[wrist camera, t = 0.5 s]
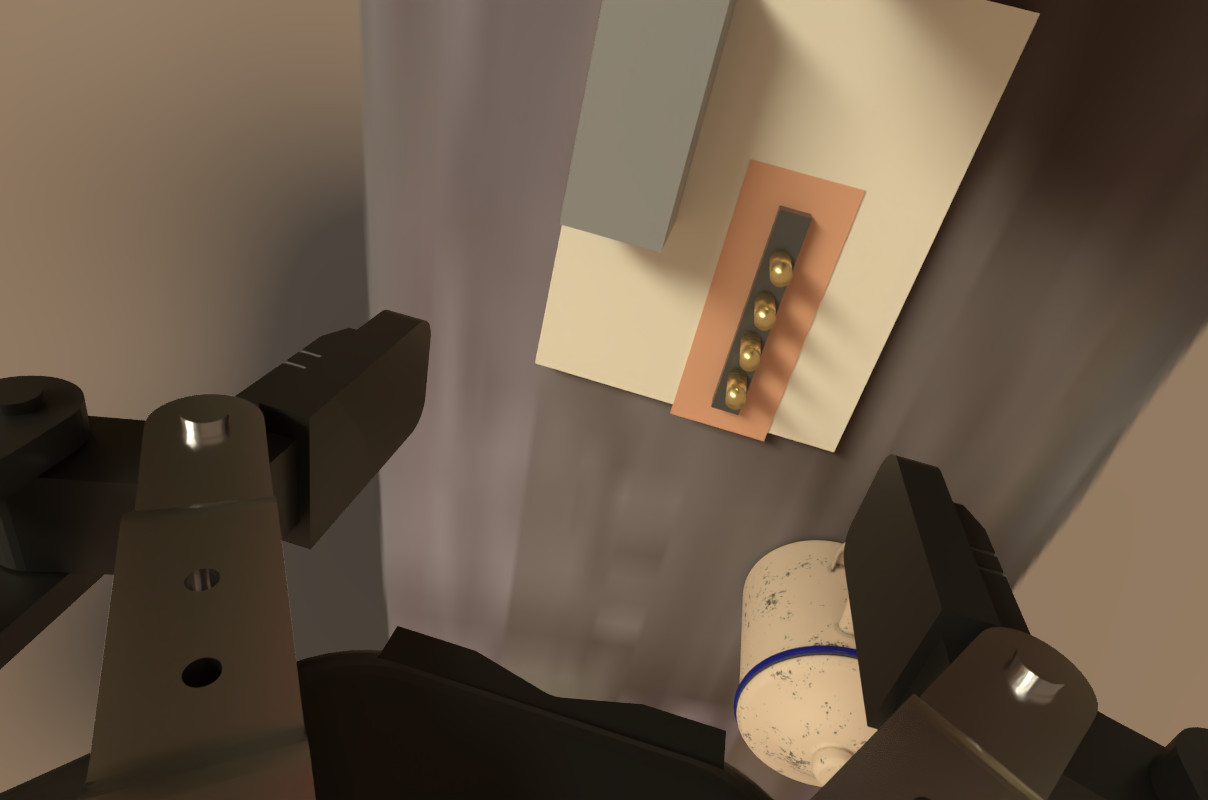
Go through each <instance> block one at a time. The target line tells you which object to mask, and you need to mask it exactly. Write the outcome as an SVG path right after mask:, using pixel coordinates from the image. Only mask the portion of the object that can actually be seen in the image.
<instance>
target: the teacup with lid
mask: <svg viewBox="0 0 1208 800" xmlns="http://www.w3.org/2000/svg"><path fill="white" fill-rule="evenodd" d="M844 547H845V543H843V544H842V543H838V542H833V541H825V540H807V541H800V542H795V543H791V544H787V545H784V546H782V547H779V548H777V549H775V550H773V551H771V552H770V553H768V554H767V555H765V556H764V557H763V558H761V559H760V560H759V561H758V562H757V563H756V565H755V566H754V567H753V568H752V570H751V571H750V573H749V575H748V577H747V579H746V582H745V585H744V590H743V609H742V636H741V663H740V684H739V686H738V689H737V691H736V695H735V699H734V714H735V718H736V722H737V725H738V727H739V730H740V733H741V735H742V737H743V739H744V740H745V742H746V743H747V745H748V746H749V748H750V749H751V750H752V751H753V753H754V754H755V755H756V756H757V757H758V758H759V759H760V760H762V761H763V762H764V763H765V764H767V765H768V766H769V767H771V768H772V769H774V770H776V771H777V772H779V773H781V774H783V775H785V776H787V777H789V778H792V779H794V780H797V781H800V782H803V783H806V784H810V785H815V786H820V787H823V786H824V785H825V784H826V783H827V782H828V781H829V780H830V779H831V778H832V777H833V776H834V775H835V774H836V772H837V771H838V770H839V769H840V768H841V767H842V766H843V765H844V764H845V763H846V762H847V761H848V760H849V759H850V758H851V757H852V756H853V755H854V754H855V753H856V752H857V751H858V750H859V749H860V748H861V747H862V746H863V745H864V744H865V743H866V742H867V741H868V739H869V738H870V737H871V736H872V735H873V734H874V733H875V732H876V731H877V729H874V728H871V727H868V726H867V721H866V714H865V707H864V700H863V693H862V686H861V679H860V672H859V665H858V658H857V651H856V644H855V637H854V630H853V623H852V617H851V610H850V603H849V596H848V589H847V582H846V575H845V568H844Z"/></svg>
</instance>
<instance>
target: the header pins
mask: <svg viewBox="0 0 1208 800" xmlns="http://www.w3.org/2000/svg"><path fill="white" fill-rule="evenodd" d="M769 261H770V280H771V282H772V284H773V285H775V286H777V287H785V286H787V285H788V284H789V283H790V282H791V281H792V278H793V273H792V265H791V257H790V254H789V252H788V251H787V250H785V249H781V248H780V249H776V250H774V251H773V252H772V253H771V255H770V258H769ZM775 323H776V308H775V297H774V295H773V294H772V293H771V292H769V291H761V292H759V293H758V294H757V295H756V297H755V307H754V324H755V326H756V327H757V328H758V329H760V330H762V331H767V330H770V329H772V328H773V327H774V326H775ZM760 348H761V338H760V335H759V334H758V333H757V332H755V331H752V330H750V331H746V332H745V333H743V335H742V336H741V344H740V358H739V364H740V367H741V368H742V369H741V368H734V369H732V370H730V371H729V373H728V379H727V389H726V398H725V402H726V405H727V406H728V407H729V408H730V409H733V410H738V409H741V408H743V407H744V405H745V403H746V385H747V374H746V372H745V371H749V372H751V371H755V370H756V369H758V367H759V366H760ZM744 370H745V371H744Z"/></svg>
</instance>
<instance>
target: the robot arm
mask: <svg viewBox="0 0 1208 800" xmlns="http://www.w3.org/2000/svg"><path fill="white" fill-rule="evenodd" d="M430 337H431V330H430V325H429V323H428V322H427V321H425V320H421V319H418V318H414V317H411V316H407V315H403V314H400V313H396V312H393V311H389V310H383V311H382V312H380V313H379V314H378V315H376V316H375V317H374V318H372V319H371V320H369V321H368V322H367V323H366V324H364V325H363V326H361V327H360V328H359V329H357V330H355V329H351V328H347V329H344V330H340V331H337V332H333V333H330V334H327V335H323V336H321V337H319V338H318V339H316V340H315V341H314V342H312V343H311V344H309V345H308V346H306V347H305V348H304V349H302V352H301V353H300V352H298V353H296V354H295V355H293V356H292V357H291V358H289V359H288V360H287V361H286V364H283V363H282V364H281V365H279V366H278V367H276V368H275V369H273V370H272V371H271V372H269V373H268V374H266V375H265V376H263V377H262V378H261V379H259V380H258V381H256V382H255V383H253V384H252V385H250V386H249V387H248V388H246V389H245V390H243V391H242V392H240V393H239V394H238V395H236V396H229V395H223V394H202V395H193V396H188V397H184V398H179V399H176V400H173V401H170V402H168V403H166V404H164V405H162V406H160V407H158V408H157V409H156V410H154V411H153V412H152V413H151V414H150V415H149V416H148V417H147V419H146V421H144V420H132V419H120V418H108V417H96V416H88V414H87V409H86V403H85V398H84V395H83V392H82V390H81V389H80V388H79V387H78V386H76V385H75V384H73V383H71V382H69V381H66V380H63V379H59V378H54V377H46V376H17V377H8V378H2V379H0V669H1V668H2V667H3V666H4V665H6V664H7V663H8V662H9V661H10V660H11V659H12V658H13V657H14V656H15V655H16V654H18V653H19V652H20V651H21V650H22V649H23V648H24V647H25V646H26V645H27V644H28V643H30V642H31V641H32V640H33V639H34V638H35V637H36V636H37V635H38V634H40V632H42V631H43V630H44V629H45V628H46V627H47V626H48V625H49V624H51V623H52V622H53V621H54V620H55V619H56V618H57V617H58V616H59V615H60V614H61V613H63V612H64V611H65V610H66V609H67V608H68V607H69V606H70V605H71V604H72V603H73V602H75V601H76V600H77V599H78V598H79V597H80V596H81V595H82V594H83V593H84V592H86V590H88V589H89V588H90V587H91V586H92V585H93V584H94V583H95V582H97V581H98V580H99V579H100V578H101V577H102V576H103V575H104V574H113V575H114V576H113V585H112V592H111V599H110V607H109V615H108V622H107V630H106V638H105V645H104V653H103V661H102V669H101V676H100V684H99V692H98V699H97V707H96V714H95V722H94V730H93V737H92V745H91V753H89V754H87V755H85V756H82V757H80V758H78V759H76V760H73V761H71V762H69V763H67V764H64V765H62V766H60V767H58V768H56V769H53V770H51V771H49V772H47V773H45V774H42V775H40V776H38V777H36V778H33V779H31V780H29V781H27V782H24V783H22V784H20V785H18V786H16V787H13V788H11V789H9V790H7V791H4V792H2V793H0V800H774V799H773V798H772V797H771V796H770V795H769V794H767V793H766V792H765V791H764V790H763V789H762V788H761V787H760V786H759V785H757V784H756V783H755V782H754V781H753V780H751V779H750V778H749V777H747V776H746V775H745V774H743V773H742V772H741V771H739V770H738V769H737V768H735V767H734V766H732V765H730V764H729V763H727V762H726V761H724V754H725V737H726V731H724V730H721V729H718V728H715V727H712V726H709V725H705V724H702V723H699V722H696V721H693V720H690V719H687V718H684V717H680V716H677V715H674V714H671V713H668V712H665V711H662V710H659V709H655V708H652V707H649V706H646V705H643V704H631V703H619V702H607V701H595V700H583V699H571V698H560V697H555V696H552V695H549V694H547V693H545V692H543V691H542V690H540V689H538V688H537V687H535V686H533V685H532V684H530V683H528V682H527V681H525V680H523V679H522V678H520V677H518V676H517V675H515V674H513V673H512V672H510V671H508V670H507V669H505V668H503V667H502V666H500V665H498V664H497V663H495V662H493V661H492V660H490V659H488V658H487V657H485V656H483V655H482V654H480V653H478V652H477V651H474V650H471V649H468V648H465V647H462V646H458V645H455V644H452V643H449V642H446V641H443V640H440V639H437V638H433V637H430V636H427V635H424V634H421V633H418V632H415V631H412V630H408V629H405V628H402V627H399V626H397V628H396V629H395V631H394V633H393V634H392V636H391V637H390V639H389V641H388V643H387V644H386V646H385V647H384V649H383V650H382V651H380V650H350V651H342V652H334V653H328V654H323V655H318V656H314V657H310V658H306V659H303V660H300V661H297V662H296V654H295V646H294V638H293V630H292V621H291V613H290V605H289V596H288V588H287V580H286V572H285V564H284V556H283V547H282V540H283V541H286V542H289V543H293V544H296V545H299V546H302V547H305V548H308V549H311V548H312V547H313V546H314V545H315V543H316V542H317V541H318V540H319V539H320V538H321V536H322V535H323V534H324V533H325V532H326V531H327V530H328V528H329V527H330V526H331V525H332V524H333V523H334V522H335V520H336V519H337V518H338V517H339V516H340V515H341V514H342V512H343V511H344V510H345V509H346V507H348V506H349V504H350V503H351V502H352V501H353V500H354V499H355V497H356V496H357V495H358V494H359V493H360V492H361V491H362V489H363V488H364V487H365V486H366V485H367V484H368V483H369V481H370V480H371V479H372V478H373V477H374V476H375V474H376V473H377V472H378V471H379V470H380V469H381V468H382V466H383V465H384V464H385V463H386V462H387V461H388V460H389V458H390V457H391V456H392V455H393V454H394V453H395V452H396V450H397V449H398V448H399V447H400V446H401V445H402V444H403V442H404V441H405V440H406V439H407V438H408V437H409V436H410V434H411V433H412V432H413V431H414V429H415V427H416V426H417V424H418V421H419V419H420V417H421V414H422V411H423V407H424V402H425V394H426V383H427V371H428V360H429V349H430ZM994 553H995V551H994V549H993V547H992V544H991V542H990V540H989V538H988V535H987V533H986V531H985V529H984V528H983V527H982V525H981V524H980V523H979V522H978V521H977V520H976V519H975V518H974V517H973V516H972V514H971V513H970V512H969V511H968V510H967V509H966V508H965V507H964V506H963V505H960V504H957V503H954V502H953V501H952V499H951V496H950V494H949V491H948V489H947V486H946V483H945V481H944V478H943V476H942V473H941V471H940V469H939V468H938V467H935V466H932V465H928V464H925V463H921V462H918V461H914V460H911V459H907V458H903V457H900V456H896V455H889V456H888V457H887V458H886V459H885V460H884V461H883V463H882V464H881V466H880V468H879V470H878V472H877V474H876V476H875V478H874V480H873V482H872V484H871V486H870V488H869V490H868V492H867V494H866V496H865V498H864V500H863V502H862V504H861V506H860V508H859V510H858V512H857V514H856V516H855V518H854V520H853V522H852V524H851V526H850V529H849V531H848V534H847V538H846V542H845V547H844V568H845V575H846V582H847V589H848V596H849V603H850V610H851V617H852V623H853V630H854V637H855V644H856V651H857V658H858V665H859V672H860V679H861V686H862V693H863V700H864V707H865V714H866V721H867V726H868V727H871V728H874V729H877V731H876V732H875V733H874V734H873V735H872V736H871V737H870V738H869V739H868V741H867V742H866V743H865V744H864V745H863V746H862V747H861V748H860V749H859V750H858V751H857V752H856V753H855V754H854V755H853V756H852V757H851V758H850V759H849V760H848V761H847V762H846V763H845V764H844V765H843V766H842V767H841V768H840V769H839V770H838V771H837V772H836V774H835V775H834V776H833V777H832V778H831V779H830V780H829V781H828V782H827V783H826V784H825V785H824V786H823V787H822V788H821V789H820V790H819V791H818V792H817V793H816V794H815V795H814V796H813V797H812V798H811V799H810V800H1208V729H1205V728H1198V727H1197V728H1196V727H1195V728H1187V729H1184V730H1183V731H1181V732H1180V733H1179V734H1178V735H1177V736H1176V737H1175V738H1174V739H1173V740H1172V741H1171V742H1170V743H1169V744H1168V745H1167V746H1166V747H1164V746H1161V745H1160V744H1158V743H1156V742H1154V741H1152V740H1150V739H1148V738H1147V737H1145V736H1143V735H1141V734H1139V733H1137V732H1135V731H1133V730H1132V729H1130V728H1128V727H1126V726H1124V725H1122V724H1120V723H1118V722H1116V721H1115V720H1113V719H1111V718H1109V717H1107V716H1105V715H1104V714H1102V713H1100V712H1099V711H1098V703H1097V699H1096V696H1095V694H1094V691H1093V689H1092V687H1091V686H1090V684H1089V682H1088V681H1087V679H1086V678H1085V677H1084V676H1083V674H1082V673H1081V672H1080V671H1079V670H1078V669H1077V668H1076V666H1075V665H1074V664H1073V663H1071V662H1070V661H1069V660H1068V659H1067V658H1066V657H1065V656H1064V655H1062V654H1061V653H1059V652H1058V651H1057V650H1056V649H1054V648H1052V647H1051V646H1050V645H1048V644H1047V643H1045V642H1043V641H1041V640H1040V639H1038V638H1036V637H1034V636H1032V635H1030V632H1029V630H1028V628H1027V625H1026V623H1025V621H1024V618H1023V616H1022V614H1021V611H1020V609H1019V607H1018V604H1017V602H1016V600H1015V598H1014V595H1013V593H1012V591H1011V588H1010V586H1009V584H1008V581H1007V579H1006V577H1004V576H1002V574H1003V570H1002V568H1001V565H1000V563H999V561H998V558H997V557H995V556H994Z"/></svg>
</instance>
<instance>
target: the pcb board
mask: <svg viewBox="0 0 1208 800" xmlns="http://www.w3.org/2000/svg"><path fill="white" fill-rule="evenodd" d="M1039 15H1040V13H1036V12H1032V11H1028V10H1024V9H1020V8H1016V7H1012V6H1008V5H1004V4H1000V3H996V2H992V1H987V0H737V1H736V4H735V8H734V11H733V15H732V19H731V22H730V26H729V30H728V33H727V37H726V40H725V44H724V48H723V51H722V55H721V58H720V62H719V66H718V69H717V73H716V76H715V80H714V84H713V87H712V91H711V95H710V98H709V102H708V105H707V109H706V113H705V116H704V120H703V123H702V127H701V131H700V134H699V138H698V142H697V145H696V149H695V152H694V156H693V160H692V163H691V167H690V170H689V174H688V178H687V181H686V185H685V189H684V192H683V196H682V199H681V203H680V207H679V210H678V214H677V217H676V221H675V224H674V226H673V228H672V230H671V233H670V235H669V237H668V239H667V241H666V243H665V245H664V248H663V250H662V252H661V253H659V252H656V251H652V250H649V249H645V248H642V247H638V246H635V245H631V244H628V243H624V242H621V241H617V240H613V239H610V238H606V237H603V236H599V235H596V234H592V233H589V232H585V231H582V230H578V229H575V228H571V227H568V226H564V225H562V228H561V233H560V239H559V244H558V249H557V254H556V259H555V264H554V269H553V274H552V280H551V285H550V290H549V295H548V300H547V305H546V310H545V315H544V320H543V326H542V331H541V336H540V341H539V346H538V351H537V356H536V361H535V363H536V364H539V365H543V366H546V367H549V368H553V369H556V370H560V371H563V372H566V373H570V374H573V375H576V376H580V377H583V378H586V379H590V380H593V381H596V382H600V383H603V384H606V385H610V386H613V387H617V388H620V389H623V390H627V391H630V392H633V393H637V394H640V395H643V396H647V397H650V398H653V399H657V400H660V401H663V402H667V403H670V404H673V406H672V409H671V412H670V413H671V414H674V415H677V416H681V417H684V418H688V419H691V420H694V421H698V422H701V423H704V424H708V425H711V426H714V427H718V428H721V429H724V430H728V431H731V432H734V433H738V434H741V435H744V436H748V437H751V438H754V439H758V440H761V441H764V440H765V437H766V435H767V433H771V434H774V435H778V436H781V437H784V438H788V439H791V440H794V441H798V442H801V443H804V444H808V445H811V446H814V447H818V448H821V449H824V450H828V451H831V452H834V451H835V449H836V447H837V445H838V443H839V441H840V438H841V436H842V434H843V432H844V430H845V428H846V426H847V424H848V421H849V419H850V417H851V415H852V413H853V411H854V409H855V407H856V404H857V402H858V400H859V398H860V396H861V394H862V392H863V390H864V387H865V385H866V383H867V381H868V379H869V377H870V375H871V373H872V370H873V368H874V366H875V364H876V362H877V360H878V358H879V355H880V353H881V351H882V349H883V347H884V345H885V343H886V341H887V338H888V336H889V334H890V332H891V330H892V328H893V326H894V324H895V321H896V319H897V317H898V315H899V313H900V311H901V309H902V307H903V304H904V302H905V300H906V298H907V296H908V294H909V292H910V290H911V287H912V285H913V283H914V281H915V279H916V277H917V275H918V273H919V270H920V268H921V266H922V264H923V262H924V260H925V258H926V255H927V253H928V251H929V249H930V247H931V245H932V243H933V241H934V238H935V236H936V234H937V232H938V230H939V228H940V226H941V224H942V221H943V219H944V217H945V215H946V213H947V211H948V209H949V207H950V204H951V202H952V200H953V198H954V196H955V194H956V192H957V190H958V187H959V185H960V183H961V181H962V179H963V177H964V175H965V172H966V170H967V168H968V166H969V164H970V162H971V160H972V158H973V155H974V153H975V151H976V149H977V147H978V145H979V143H980V141H981V138H982V136H983V134H984V132H985V130H986V128H987V126H988V124H989V121H990V119H991V117H992V115H993V113H994V111H995V109H996V107H997V104H998V102H999V100H1000V98H1001V96H1002V94H1003V92H1004V90H1005V87H1006V85H1007V83H1008V81H1009V79H1010V77H1011V75H1012V72H1013V70H1014V68H1015V66H1016V64H1017V62H1018V60H1019V58H1020V55H1021V53H1022V51H1023V49H1024V47H1025V45H1026V43H1027V41H1028V38H1029V36H1030V34H1031V32H1032V30H1033V28H1034V26H1035V24H1036V21H1037V19H1038V17H1039ZM779 206H784V207H788V208H791V209H795V210H799V211H802V212H806V213H810V214H811V216H812V220H811V223H810V226H809V228H808V231H807V234H806V236H805V239H804V242H803V244H802V247H801V250H800V252H799V255H798V258H797V260H796V263H795V266H794V268H793V271H792V273H793V278H792V281H791V282H790V283H789V284H788V285H787V287H786V290H785V292H784V295H783V298H782V300H781V303H780V306H779V308H778V311H777V314H776V323H775V326H774V327H773V328H772V329H771V330H770V332H769V335H768V338H767V340H766V343H765V346H764V348H763V351H762V354H761V356H760V366H759V367H758V369H756V370H755V372H754V375H753V378H752V380H751V383H750V386H749V388H748V391H747V394H746V403H745V405H744V407H743V408H741V410H740V412H739V415H736V414H733V413H729V412H726V411H723V410H719V409H716V408H713V407H711V404H712V398H713V395H714V392H715V389H716V387H717V384H718V381H719V378H720V375H721V372H722V369H723V366H724V364H725V361H726V358H727V355H728V352H729V349H730V346H731V343H732V341H733V338H734V335H735V332H736V329H737V326H738V323H739V321H740V318H741V315H742V312H743V309H744V306H745V303H746V300H747V298H748V295H749V292H750V289H751V286H752V283H753V280H754V277H755V275H756V272H757V269H758V266H759V263H760V260H761V257H762V254H763V252H764V249H765V246H766V243H767V240H768V237H769V234H770V231H771V229H772V226H773V223H774V220H775V217H776V214H777V211H778V208H779Z"/></svg>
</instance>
